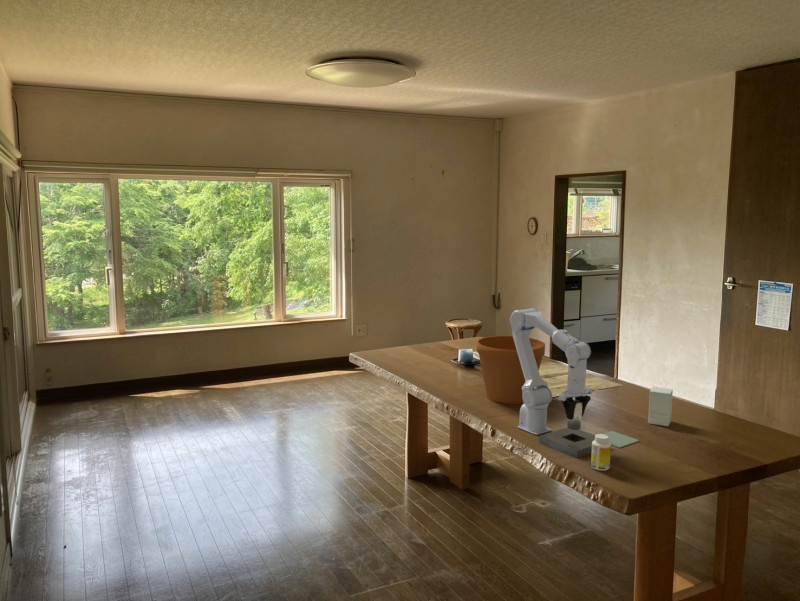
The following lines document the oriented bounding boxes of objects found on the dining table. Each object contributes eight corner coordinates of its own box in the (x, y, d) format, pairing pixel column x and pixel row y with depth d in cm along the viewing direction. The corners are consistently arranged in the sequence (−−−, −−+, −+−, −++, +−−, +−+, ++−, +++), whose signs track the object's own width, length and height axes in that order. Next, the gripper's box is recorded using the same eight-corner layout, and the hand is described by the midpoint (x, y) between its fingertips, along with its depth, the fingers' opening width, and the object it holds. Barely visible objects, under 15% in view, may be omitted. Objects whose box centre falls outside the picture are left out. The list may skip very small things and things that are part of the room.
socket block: (539, 442, 213) (539, 435, 213) (570, 433, 222) (570, 426, 222) (576, 458, 200) (577, 450, 200) (608, 447, 209) (608, 440, 209)
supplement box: (671, 421, 235) (673, 388, 234) (668, 427, 229) (671, 393, 227) (650, 417, 239) (652, 385, 237) (647, 423, 233) (649, 390, 231)
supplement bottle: (612, 467, 193) (614, 436, 191) (604, 473, 189) (606, 440, 187) (595, 462, 197) (597, 431, 195) (587, 467, 193) (589, 436, 191)
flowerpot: (548, 392, 271) (551, 339, 267) (534, 411, 245) (536, 353, 242) (486, 384, 282) (488, 333, 279) (466, 401, 257) (467, 346, 254)
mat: (592, 438, 217) (592, 437, 217) (612, 431, 224) (612, 430, 224) (619, 448, 209) (619, 447, 208) (639, 441, 215) (639, 440, 215)
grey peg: (564, 426, 211) (565, 401, 209) (573, 424, 213) (574, 398, 212) (575, 430, 207) (576, 404, 206) (583, 428, 210) (585, 402, 208)
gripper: (571, 384, 200) (569, 425, 202) (600, 377, 209) (598, 416, 211) (554, 379, 206) (552, 419, 208) (583, 373, 214) (581, 411, 216)
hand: (574, 417), depth 210 cm, fingers closed on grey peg, 4 cm apart
